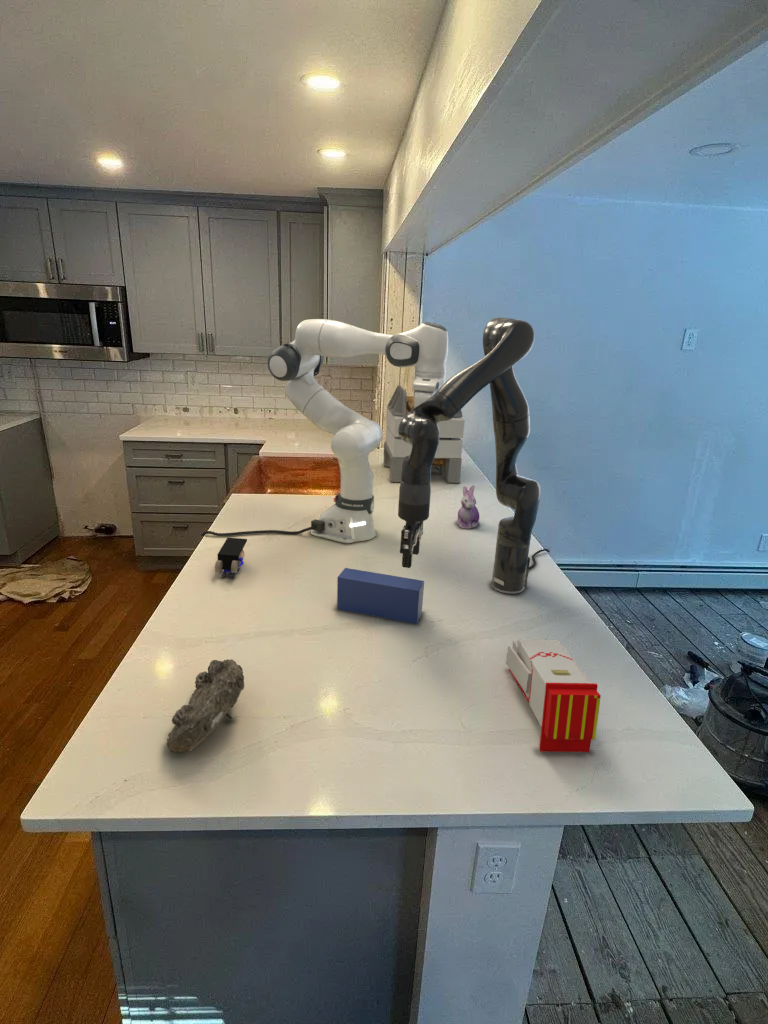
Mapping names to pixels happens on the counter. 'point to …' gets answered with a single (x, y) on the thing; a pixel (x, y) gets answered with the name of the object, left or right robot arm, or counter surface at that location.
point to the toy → (556, 694)
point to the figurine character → (230, 556)
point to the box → (380, 595)
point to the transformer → (398, 449)
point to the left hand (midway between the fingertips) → (425, 428)
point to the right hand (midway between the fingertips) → (410, 560)
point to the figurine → (468, 510)
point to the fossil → (206, 705)
